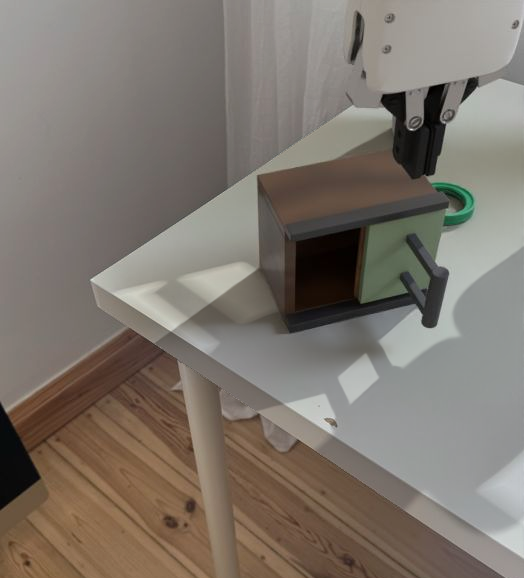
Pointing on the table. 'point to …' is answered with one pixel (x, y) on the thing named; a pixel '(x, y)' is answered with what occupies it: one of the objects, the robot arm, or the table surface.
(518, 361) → the table surface
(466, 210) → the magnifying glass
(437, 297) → the door
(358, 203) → the closet
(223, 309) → the table surface
